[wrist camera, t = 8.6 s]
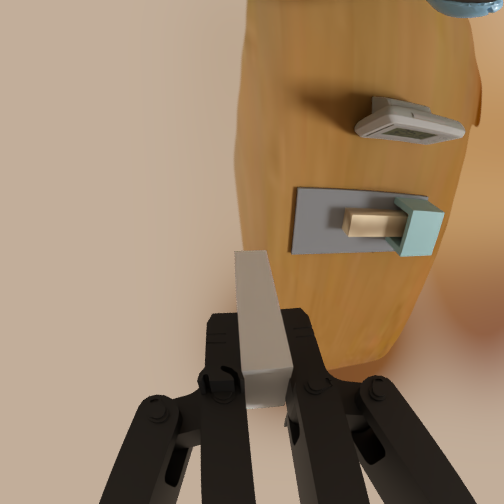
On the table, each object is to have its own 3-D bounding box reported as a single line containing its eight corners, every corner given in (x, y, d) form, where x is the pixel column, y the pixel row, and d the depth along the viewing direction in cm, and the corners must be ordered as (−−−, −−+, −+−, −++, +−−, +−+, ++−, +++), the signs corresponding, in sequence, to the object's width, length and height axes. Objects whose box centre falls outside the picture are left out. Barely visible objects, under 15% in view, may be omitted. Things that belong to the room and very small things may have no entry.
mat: (297, 187, 41) (298, 188, 41) (426, 196, 44) (428, 197, 43) (291, 252, 48) (291, 254, 47) (412, 249, 50) (413, 250, 49)
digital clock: (347, 132, 37) (381, 144, 28) (357, 80, 33) (395, 78, 24) (421, 158, 40) (459, 176, 31) (431, 113, 35) (472, 123, 26)
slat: (345, 207, 43) (352, 214, 41) (408, 210, 44) (417, 217, 42) (341, 228, 45) (348, 236, 43) (403, 229, 46) (411, 236, 44)
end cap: (395, 196, 43) (413, 210, 38) (426, 199, 43) (444, 212, 38) (385, 239, 47) (400, 256, 42) (415, 239, 48) (431, 255, 43)
